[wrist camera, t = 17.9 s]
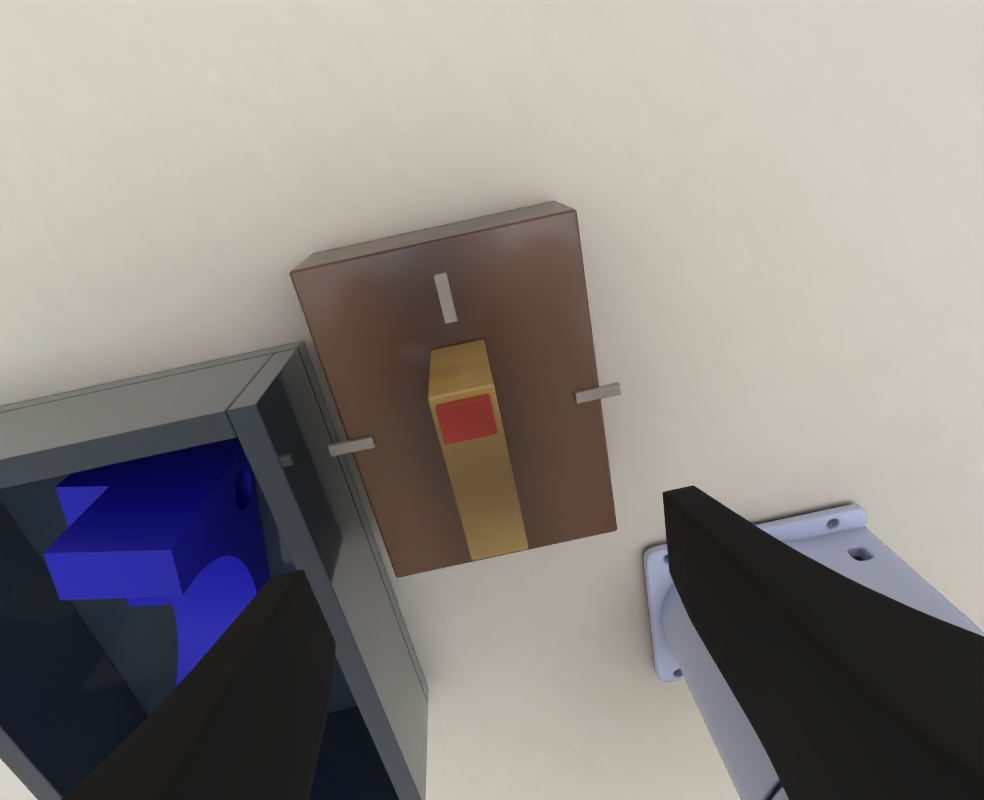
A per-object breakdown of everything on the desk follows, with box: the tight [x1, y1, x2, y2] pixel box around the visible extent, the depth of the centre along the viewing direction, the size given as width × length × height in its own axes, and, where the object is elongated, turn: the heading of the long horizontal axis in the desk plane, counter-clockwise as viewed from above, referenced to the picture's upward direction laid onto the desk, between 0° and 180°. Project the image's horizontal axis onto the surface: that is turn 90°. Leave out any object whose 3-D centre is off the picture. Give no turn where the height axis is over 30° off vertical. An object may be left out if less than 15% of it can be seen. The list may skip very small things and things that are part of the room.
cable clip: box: [43, 438, 271, 686], centre depth 19 cm, size 12×4×6 cm, turn 178°
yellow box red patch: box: [428, 340, 528, 561], centre depth 16 cm, size 5×2×4 cm, turn 11°
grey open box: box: [0, 341, 428, 800], centre depth 20 cm, size 13×18×5 cm
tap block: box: [290, 201, 621, 577], centre depth 19 cm, size 9×11×3 cm
